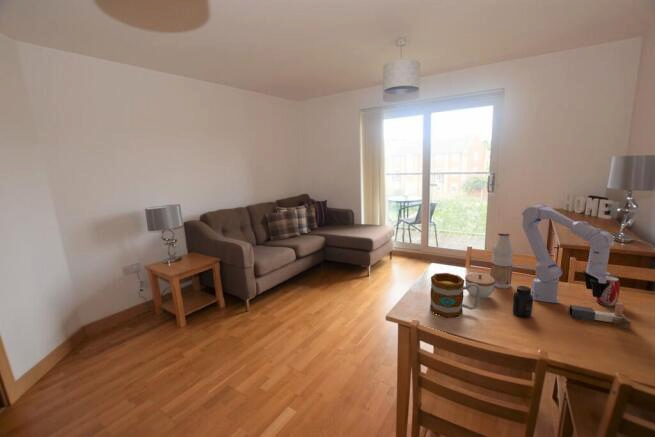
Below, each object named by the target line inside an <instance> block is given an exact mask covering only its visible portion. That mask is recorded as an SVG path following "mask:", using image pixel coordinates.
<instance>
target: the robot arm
mask: <svg viewBox="0 0 655 437" xmlns="http://www.w3.org/2000/svg"><path fill="white" fill-rule="evenodd" d="M521 214H522V225H521V226H522V229H523V230H524V233H525V236H526V238H527V241H528V242H529V245H530V248H531V250H532V253H533V254H534V258H535V260H536V265H535V269H536V277H537V278H532V284H531V295H532V296H533V301H539V302H544V303H545V302H547V303H553V304H560V301H559V299H558V290H559V283H560V282H559V280H560V279H559V278H561V277H562V275H563V269H562V268H561V267H560V266H559V265H558V264H557V261H555V260H554V259H553V258H551V255H550V253H549V250H548V248H547V246H546V243H545V242H544V239H543V236H542V234H541V232H540V230H539V227H538V226H539V224H540V223H541V221H542V220H551V221H553V222H555V223H557V224H560V225H562V226H565V227H566V228H569V230H570V233H572V234H573V235H575V236H578V237H579V238H581V239H583V240H585V241H587V242H588V243H589V245H590V248H589V252H588V253H589V254H588V255H589V256H588V260H587V265H586V270H582V274H583V278H584V282H585V288H586V289H587V290H591V293H592V294H591V295H592V297H593V298H596V297H598V298H600V297H601V295H602V293H603V292H604V290H605V289H606V288H607V287H608V286H609V285H610V283H609V282H606V280H607V279H606V276H611V273H610V272H608V271H607V270H608V265H609V264H608V263H609V259H610V253H611V252H610V250H611V245H612V244H613V243H614V242H615V237H614V235H613V234H612V233H610V232H609V231H607V230H602V229H601V228H596V227H594V226H592V225H589V222H588V221H581V220H579V221H574V220H573V219H571V218H569V217H567V216H566V215H564V214H562V213H561V212H559V211H557V210H555V209H554V208H553V207H552V206H547V205H545V204H543V203H540V204H537V205H530V206H527V207H526V208H525V209H523V211H522V213H521Z"/></svg>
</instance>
